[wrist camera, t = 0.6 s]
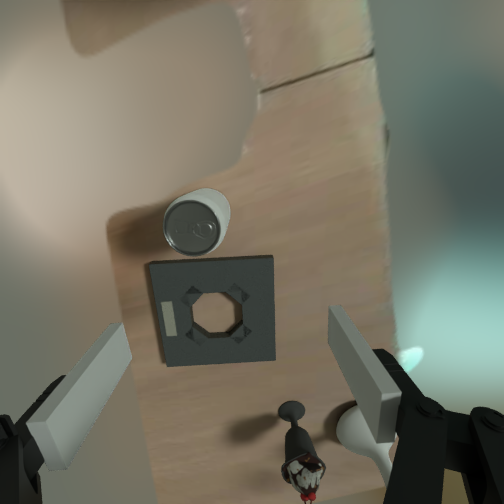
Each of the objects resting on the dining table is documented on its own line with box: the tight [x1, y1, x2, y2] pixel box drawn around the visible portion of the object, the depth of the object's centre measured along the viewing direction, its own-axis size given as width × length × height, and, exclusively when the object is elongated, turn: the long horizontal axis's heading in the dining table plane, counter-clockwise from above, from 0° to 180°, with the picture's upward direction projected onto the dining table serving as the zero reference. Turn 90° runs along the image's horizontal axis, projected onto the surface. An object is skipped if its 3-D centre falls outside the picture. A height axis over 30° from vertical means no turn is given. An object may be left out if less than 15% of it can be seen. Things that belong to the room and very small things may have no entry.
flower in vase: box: [336, 405, 397, 489], centre depth 37 cm, size 13×11×25 cm
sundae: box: [279, 401, 326, 504], centre depth 41 cm, size 7×7×15 cm
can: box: [163, 188, 231, 256], centre depth 31 cm, size 6×6×12 cm
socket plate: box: [149, 255, 276, 367], centre depth 40 cm, size 18×18×2 cm
